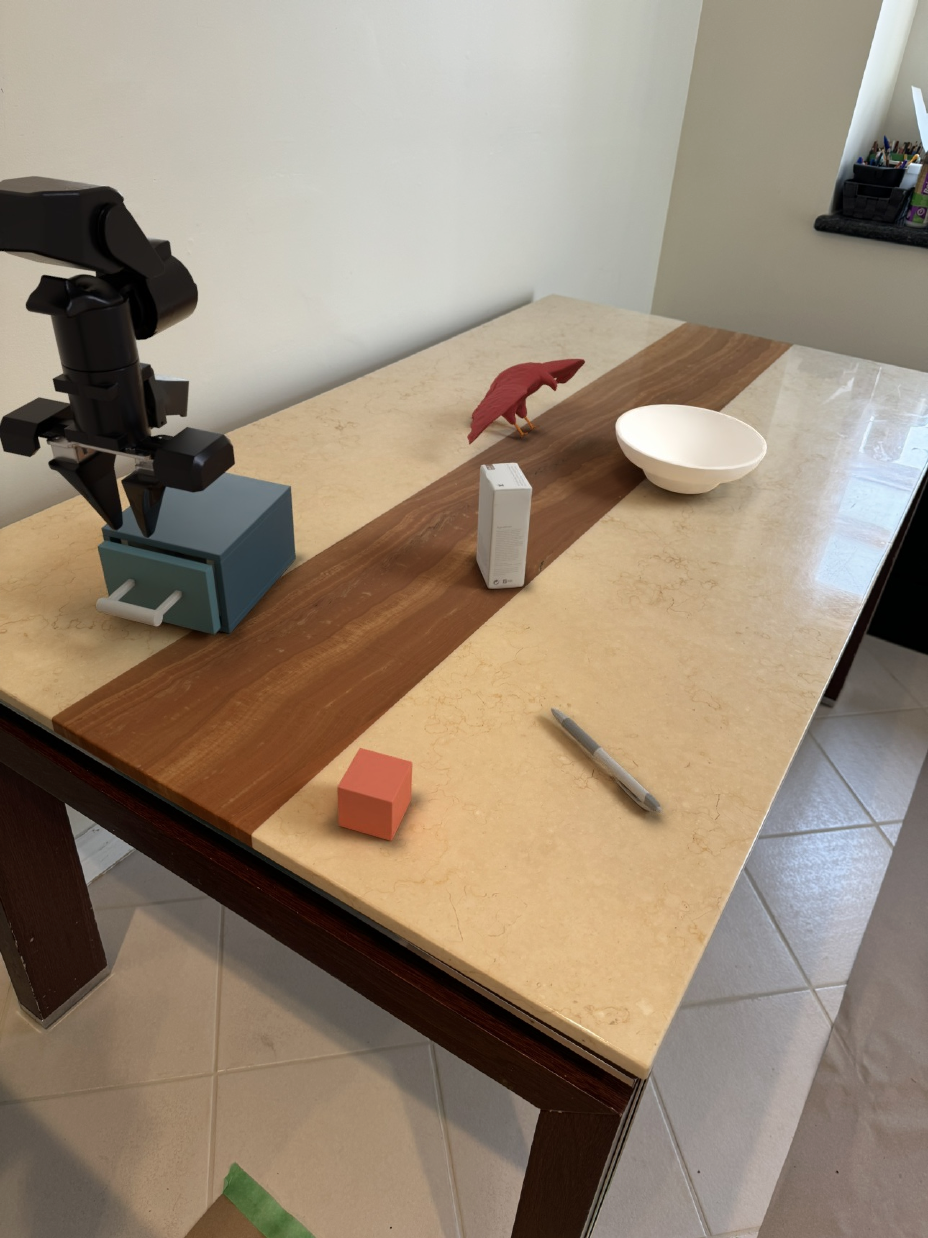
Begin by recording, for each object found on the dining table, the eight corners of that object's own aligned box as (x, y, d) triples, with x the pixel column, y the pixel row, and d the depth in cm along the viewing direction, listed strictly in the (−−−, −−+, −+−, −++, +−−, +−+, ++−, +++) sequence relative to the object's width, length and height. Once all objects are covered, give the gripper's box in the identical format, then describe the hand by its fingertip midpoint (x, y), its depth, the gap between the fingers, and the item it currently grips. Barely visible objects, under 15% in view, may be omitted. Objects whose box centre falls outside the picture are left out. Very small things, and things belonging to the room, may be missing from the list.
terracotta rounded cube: (391, 841, 66) (392, 802, 64) (338, 826, 67) (336, 787, 65) (411, 800, 70) (412, 761, 67) (360, 785, 71) (359, 747, 68)
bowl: (734, 453, 126) (746, 408, 122) (770, 522, 110) (785, 473, 106) (599, 445, 125) (607, 399, 121) (616, 513, 109) (626, 463, 105)
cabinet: (230, 633, 85) (220, 555, 80) (117, 605, 88) (100, 527, 83) (296, 558, 97) (291, 485, 91) (194, 535, 99) (184, 463, 94)
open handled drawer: (186, 665, 80) (176, 600, 76) (79, 637, 82) (62, 573, 78) (279, 563, 94) (274, 504, 90) (185, 542, 96) (176, 483, 92)
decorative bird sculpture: (449, 490, 121) (521, 437, 110) (410, 434, 120) (478, 375, 109) (545, 424, 140) (613, 373, 130) (512, 375, 139) (578, 320, 129)
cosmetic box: (525, 587, 95) (537, 488, 88) (485, 590, 94) (494, 490, 87) (510, 556, 100) (520, 460, 93) (472, 559, 99) (479, 462, 92)
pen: (654, 822, 70) (657, 810, 69) (545, 717, 78) (547, 706, 78) (663, 816, 70) (666, 805, 69) (554, 713, 79) (556, 702, 78)
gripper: (258, 345, 72) (272, 510, 81) (64, 311, 76) (98, 472, 85) (185, 393, 63) (210, 572, 73) (-30, 352, 67) (19, 527, 76)
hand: (133, 531), depth 77 cm, fingers open, 3 cm apart
